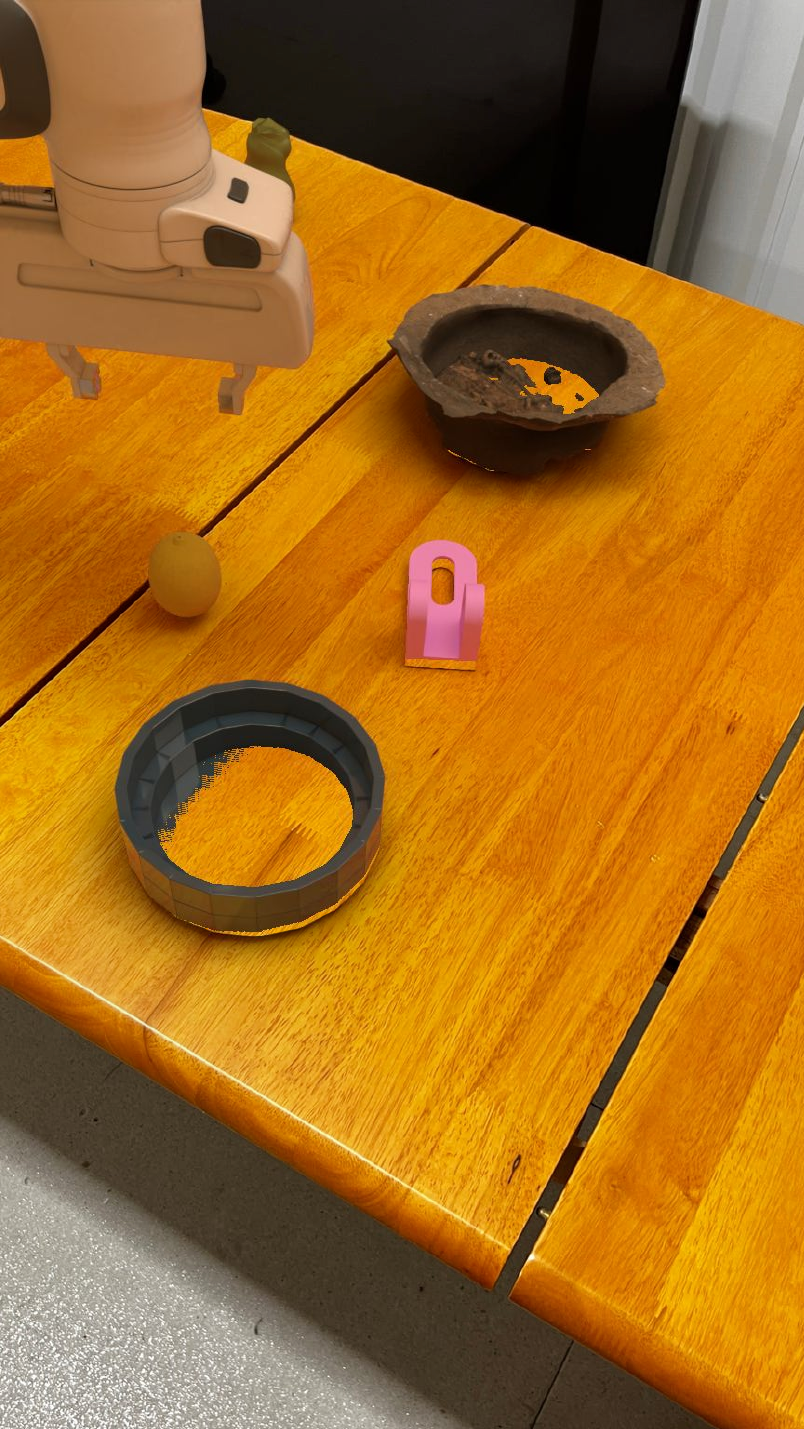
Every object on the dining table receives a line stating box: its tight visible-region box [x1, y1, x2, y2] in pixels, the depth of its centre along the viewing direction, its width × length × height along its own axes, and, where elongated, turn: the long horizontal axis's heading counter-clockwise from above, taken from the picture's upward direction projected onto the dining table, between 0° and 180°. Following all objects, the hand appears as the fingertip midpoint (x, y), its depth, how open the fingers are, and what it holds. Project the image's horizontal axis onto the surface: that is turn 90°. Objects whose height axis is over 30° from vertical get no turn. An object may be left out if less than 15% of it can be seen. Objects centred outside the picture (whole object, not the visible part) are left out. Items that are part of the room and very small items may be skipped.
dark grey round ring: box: [113, 679, 386, 932], centre depth 83 cm, size 18×18×6 cm
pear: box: [243, 117, 296, 203], centre depth 126 cm, size 6×5×10 cm
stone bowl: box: [385, 283, 666, 476], centre depth 111 cm, size 25×25×9 cm
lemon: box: [147, 531, 222, 618], centre depth 94 cm, size 6×6×8 cm
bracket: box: [404, 539, 486, 662], centre depth 97 cm, size 13×6×7 cm, turn 179°
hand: (160, 401), depth 81 cm, fingers open, 8 cm apart
